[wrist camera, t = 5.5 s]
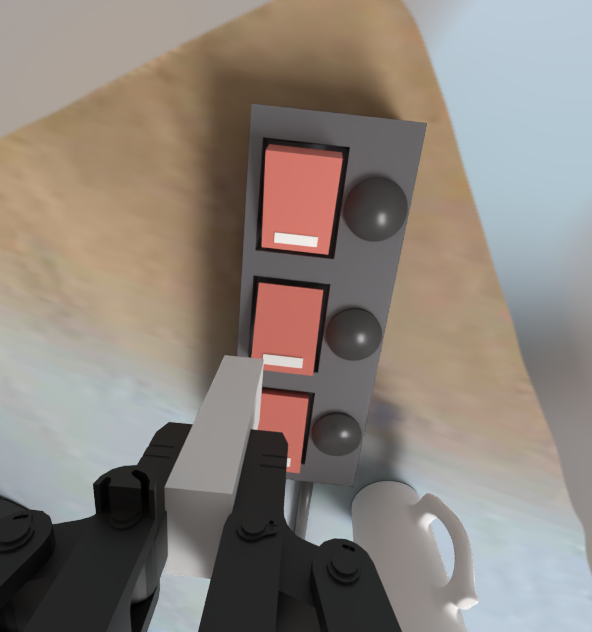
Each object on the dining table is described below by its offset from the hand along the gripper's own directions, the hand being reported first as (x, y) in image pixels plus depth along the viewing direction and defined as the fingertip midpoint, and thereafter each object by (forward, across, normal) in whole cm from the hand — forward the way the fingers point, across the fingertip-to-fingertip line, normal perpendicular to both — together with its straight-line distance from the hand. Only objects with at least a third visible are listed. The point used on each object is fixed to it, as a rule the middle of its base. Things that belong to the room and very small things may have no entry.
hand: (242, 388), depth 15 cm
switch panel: (+14, +3, -7) cm, 16 cm away
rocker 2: (+9, +1, -1) cm, 9 cm away
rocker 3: (+9, +1, -8) cm, 13 cm away
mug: (+14, +12, -18) cm, 26 cm away
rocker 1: (+9, +1, +6) cm, 11 cm away
